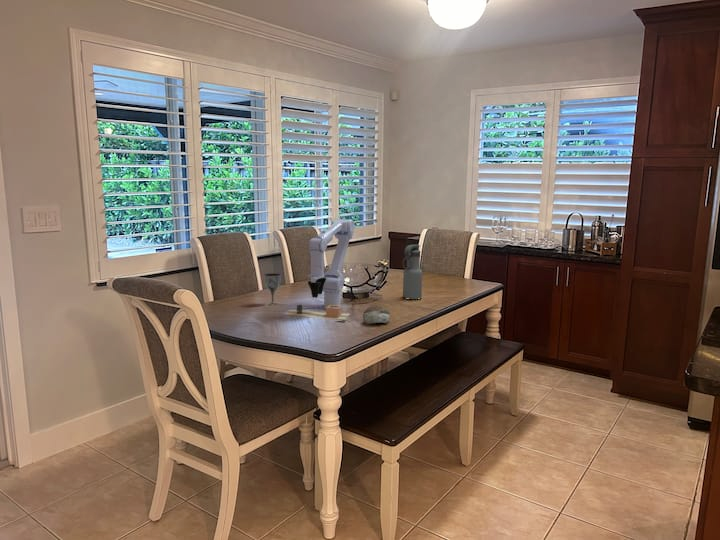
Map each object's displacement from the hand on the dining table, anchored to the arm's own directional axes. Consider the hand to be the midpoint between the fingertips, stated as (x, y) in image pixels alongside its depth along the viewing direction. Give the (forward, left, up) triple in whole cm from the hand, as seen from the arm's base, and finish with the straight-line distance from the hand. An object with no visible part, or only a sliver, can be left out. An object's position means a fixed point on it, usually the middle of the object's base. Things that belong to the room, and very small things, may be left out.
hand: (317, 295), depth 240 cm
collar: (+2, +8, -8) cm, 12 cm away
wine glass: (-15, -27, -10) cm, 32 cm away
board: (+2, 0, -9) cm, 10 cm away
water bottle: (-49, +37, -10) cm, 62 cm away
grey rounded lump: (+3, +28, -10) cm, 30 cm away
